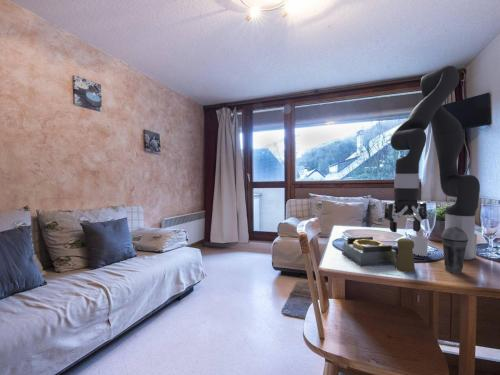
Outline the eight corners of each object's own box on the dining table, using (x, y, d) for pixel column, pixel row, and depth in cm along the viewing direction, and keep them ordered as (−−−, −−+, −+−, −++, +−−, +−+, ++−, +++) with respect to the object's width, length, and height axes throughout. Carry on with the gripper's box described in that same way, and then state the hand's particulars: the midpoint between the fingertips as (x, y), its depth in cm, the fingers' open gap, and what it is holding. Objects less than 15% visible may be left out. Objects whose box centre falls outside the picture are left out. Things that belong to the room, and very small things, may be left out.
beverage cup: (472, 273, 84) (474, 215, 83) (457, 276, 82) (459, 217, 81) (449, 265, 91) (451, 212, 90) (435, 268, 89) (436, 213, 88)
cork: (418, 272, 86) (419, 241, 85) (399, 271, 87) (399, 241, 87) (410, 266, 92) (411, 237, 91) (392, 265, 93) (393, 236, 92)
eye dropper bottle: (417, 252, 107) (418, 224, 106) (429, 256, 101) (430, 227, 101) (409, 252, 106) (409, 225, 106) (419, 257, 101) (420, 228, 100)
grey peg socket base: (374, 251, 109) (374, 235, 109) (397, 264, 94) (398, 246, 94) (341, 253, 108) (341, 237, 107) (360, 266, 93) (360, 248, 92)
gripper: (417, 185, 92) (415, 228, 93) (380, 186, 91) (379, 229, 92) (433, 187, 85) (431, 233, 86) (394, 187, 83) (392, 234, 85)
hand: (404, 231), depth 89 cm, fingers open, 8 cm apart
